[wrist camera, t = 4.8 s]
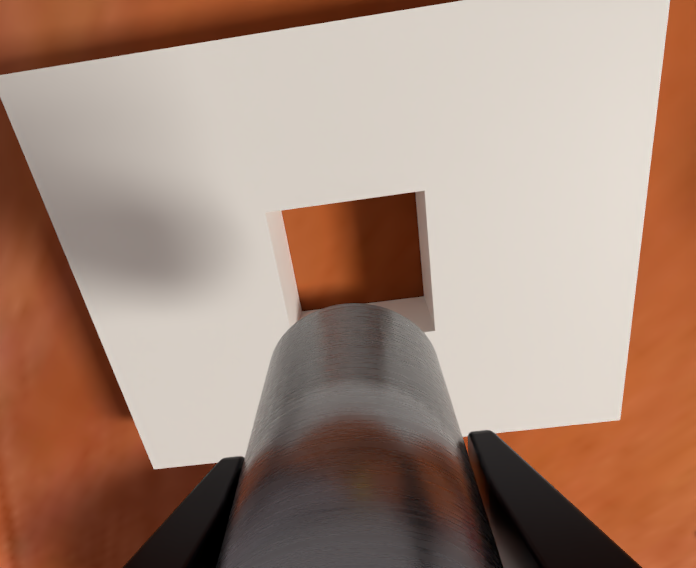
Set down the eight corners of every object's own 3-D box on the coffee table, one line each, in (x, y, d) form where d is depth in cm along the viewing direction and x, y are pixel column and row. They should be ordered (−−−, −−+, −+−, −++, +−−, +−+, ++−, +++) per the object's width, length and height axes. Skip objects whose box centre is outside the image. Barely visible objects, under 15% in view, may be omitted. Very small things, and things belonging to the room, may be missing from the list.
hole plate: (618, -17, 16) (674, -34, 13) (587, 377, 22) (619, 420, 20) (48, 75, 17) (-9, 76, 14) (176, 422, 24) (153, 469, 21)
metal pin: (461, 263, 10) (999, 1179, 2) (469, 451, 12) (730, 1267, 4) (217, 293, 10) (-306, 1208, 2) (268, 473, 12) (112, 1276, 4)
